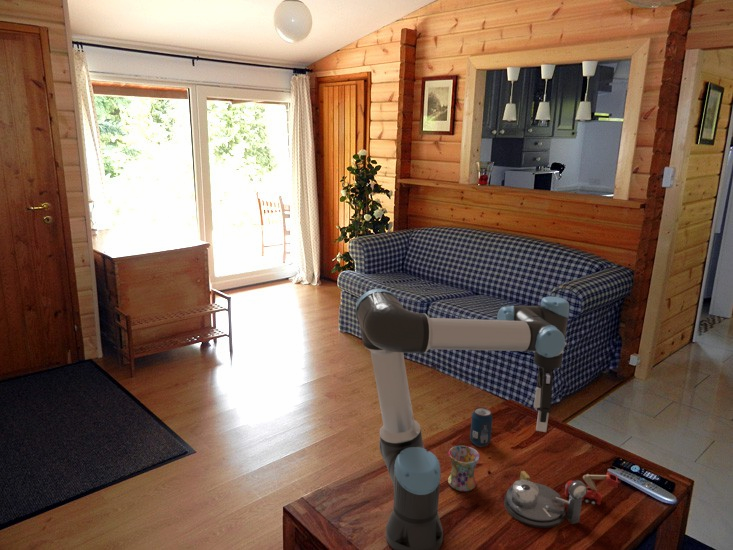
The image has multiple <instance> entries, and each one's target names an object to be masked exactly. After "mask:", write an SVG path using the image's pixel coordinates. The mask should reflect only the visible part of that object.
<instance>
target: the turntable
mask: <svg viewBox="0 0 733 550" xmlns="http://www.w3.org/2000/svg"><path fill="white" fill-rule="evenodd" d="M519 475H520V476H519V480H527V481H530V482H531V477H530V475H529V474H528V473H527V472H526V471H525V470H521V471H520V474H519ZM532 482H533V481H532ZM533 483H534V484H536V485H537V487H538V489H539V491H538V500H537V506H536V507H535V508H533V509H523V508H520V507H518V506H516V505H515V504H514V503H513V502H512V491H513V484H512V485H511V486H509V488H508V489H507V491H506V493H507V497H506V501H507V504H508V506H509V507H510V509H511V510H512V511H513V512H515V513H516V514H517V515H519V516H521V517H523V518H525V519H527V520H530V521H534V522H540V523H548V522H553V521H556V520H558V519H559V518H561V517H562V515H563V513H564V507H565V508H566V503H563V502H560V501H557V500H555V499H556V497H558V498H561V499H563V497H562V496H561V495H560V493H558V492H557V491H555V490H554V489H553V488H551V487H550V486H547V485H544V484H541V483H537V482H533Z"/></svg>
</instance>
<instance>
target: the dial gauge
mask: <svg viewBox="0 0 733 550" xmlns="http://www.w3.org/2000/svg"><path fill="white" fill-rule="evenodd" d="M572 481H573V482H572V483H571V484H570V485H569V487H568V492H569V494H570V495H569V497H568V500H566V499H564V498H562V499H561V498H558V497H556V499H555V500H557V501H560V502H563V503H564V504H565V505H566V504H567V510H566V516H565V519H566V520H567V521H568V522H569V524H570V525H574V524H578V523H580V516H581V511H582V503H583V501H582V498H583V497H584V496H585V495H586V493H587V487H586V486H587V484H585V483H584V482H583V481H581V480H579V479H577V480H572Z"/></svg>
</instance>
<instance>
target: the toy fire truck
mask: <svg viewBox="0 0 733 550" xmlns="http://www.w3.org/2000/svg"><path fill="white" fill-rule="evenodd" d="M582 479H583V481H584V482H585V483H586V487H587V493H586V495H585V496H584V497H583V498H582V502H585V503H586V504H589V503H590V504H591V505H594V506H595V505H601V502H602V493H601V492H598V487H597V486H596V484H595V482H594V480H606V486H607V487H612V488H617V489H618V483H619V480H618V476H617V475H615V474H613V473H611V472H606V474H589V473H587V474H584V475H583V476H582ZM573 481H574V480H568V481H567V482H566V483H565V486H564V495H565V497H566V498H569V495H570V494H569V492H568V487H569V485H570V484H571V483H572V482H573Z"/></svg>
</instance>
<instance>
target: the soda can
mask: <svg viewBox="0 0 733 550" xmlns="http://www.w3.org/2000/svg"><path fill="white" fill-rule="evenodd" d="M470 421H471V423H470V433H469V435H470V436H469V439H470V441H471V443H472V445H474V446H476V447H479V448H482V447H487V446H488V445H489V444H490V442H491V440H492V439H491V437H492V426H493V415H492V411H491V410H490V409H489V408H486V407H484V406H483V407H482V406H481V407H480V406H479V407H475V408H474V410H473V412H472V413H471V420H470Z"/></svg>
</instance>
